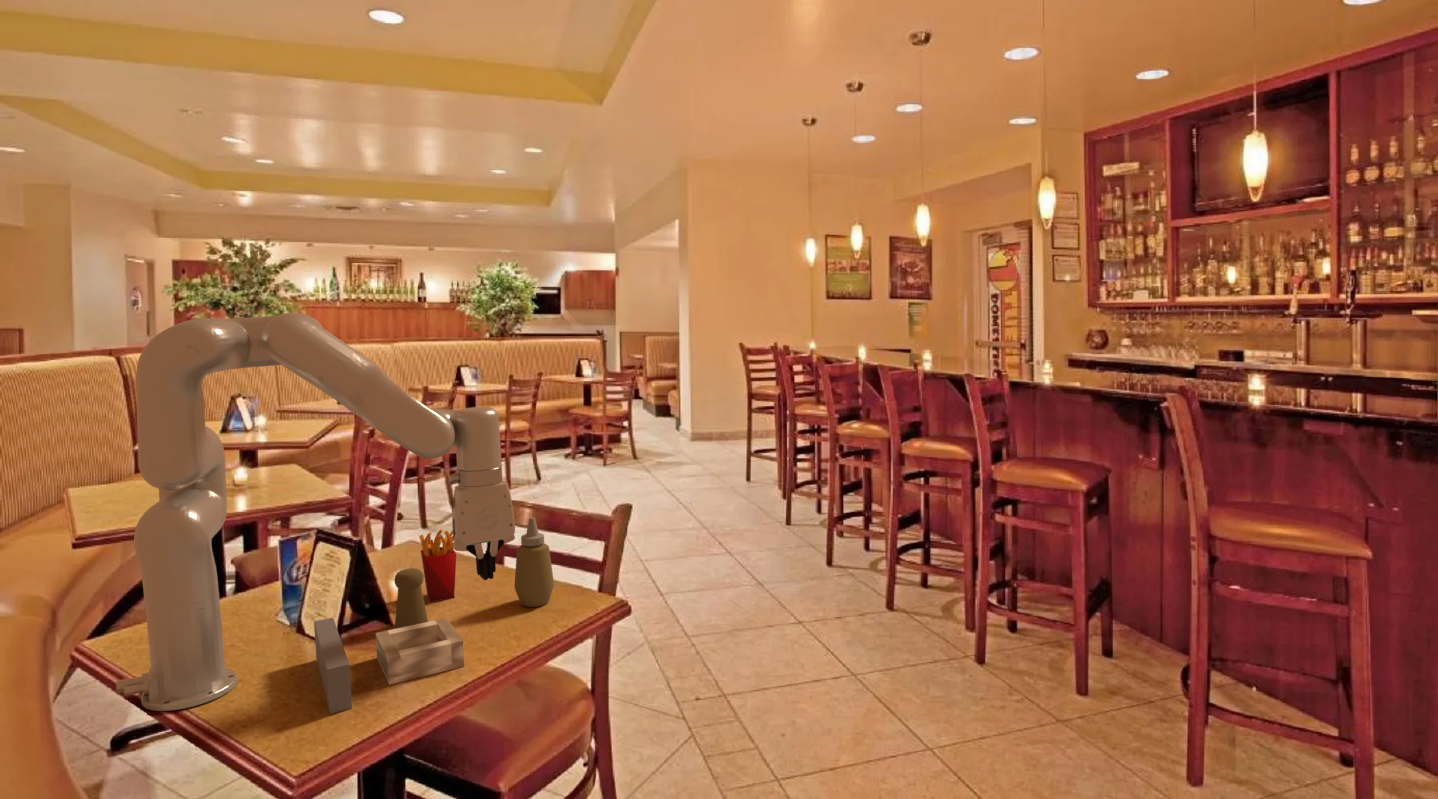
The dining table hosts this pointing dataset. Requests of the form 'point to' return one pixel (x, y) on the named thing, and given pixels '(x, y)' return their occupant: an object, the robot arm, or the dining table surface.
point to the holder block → (419, 650)
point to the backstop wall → (332, 665)
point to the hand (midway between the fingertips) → (486, 577)
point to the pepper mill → (409, 598)
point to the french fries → (439, 565)
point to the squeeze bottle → (533, 568)
